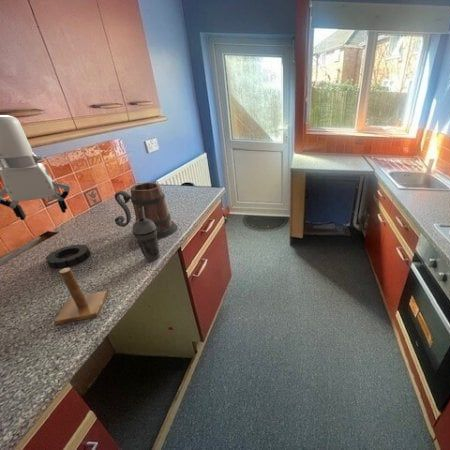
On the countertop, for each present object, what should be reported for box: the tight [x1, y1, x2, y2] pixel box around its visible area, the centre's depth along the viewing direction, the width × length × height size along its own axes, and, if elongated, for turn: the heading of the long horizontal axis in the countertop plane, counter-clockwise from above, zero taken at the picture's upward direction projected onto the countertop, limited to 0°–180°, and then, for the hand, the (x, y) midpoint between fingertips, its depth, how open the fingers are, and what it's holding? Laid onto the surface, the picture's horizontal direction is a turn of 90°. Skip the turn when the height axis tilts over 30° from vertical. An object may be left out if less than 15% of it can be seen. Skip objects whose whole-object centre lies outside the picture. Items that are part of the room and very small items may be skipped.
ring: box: [45, 244, 92, 270], centre depth 88 cm, size 11×11×2 cm
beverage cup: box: [132, 207, 161, 262], centre depth 86 cm, size 7×7×20 cm
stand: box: [53, 267, 109, 325], centre depth 66 cm, size 9×9×13 cm
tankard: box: [114, 182, 178, 240], centre depth 103 cm, size 24×17×20 cm
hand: (44, 214), depth 80 cm, fingers open, 9 cm apart
